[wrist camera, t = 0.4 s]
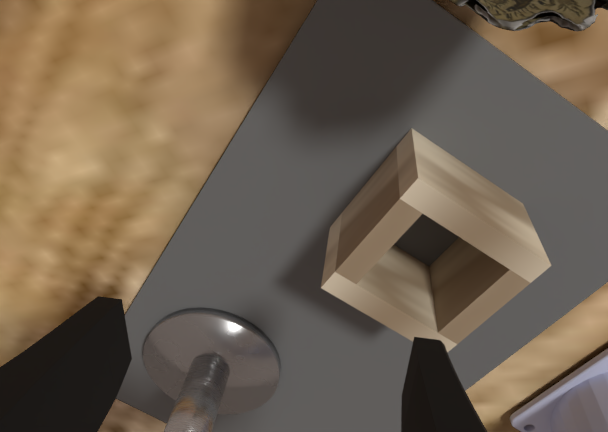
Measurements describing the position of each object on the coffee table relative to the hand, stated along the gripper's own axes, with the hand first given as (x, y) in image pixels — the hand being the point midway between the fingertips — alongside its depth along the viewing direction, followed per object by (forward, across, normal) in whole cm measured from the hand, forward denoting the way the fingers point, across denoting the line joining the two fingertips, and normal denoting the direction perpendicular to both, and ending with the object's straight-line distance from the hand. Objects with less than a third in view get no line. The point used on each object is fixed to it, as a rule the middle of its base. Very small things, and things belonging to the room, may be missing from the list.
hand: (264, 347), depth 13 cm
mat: (+10, -1, +7) cm, 12 cm away
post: (+9, +4, +11) cm, 15 cm away
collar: (+9, -5, +1) cm, 11 cm away
